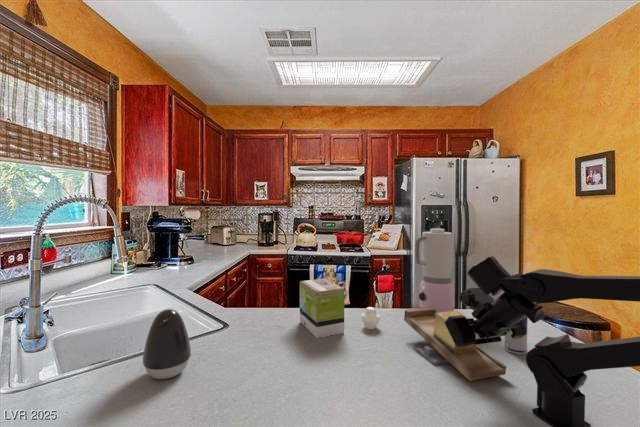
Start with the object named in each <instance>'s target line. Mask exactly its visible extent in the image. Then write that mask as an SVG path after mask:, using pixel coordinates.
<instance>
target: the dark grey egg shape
mask: <svg viewBox="0 0 640 427" xmlns="http://www.w3.org/2000/svg"><path fill="white" fill-rule="evenodd" d="M143 350H144V351H143V354H142V355H143V356H142V365H143V366H144V369H145V371H146V373H147V374H148V375H149V376H150V377H151V378H152V379H156V380H157V379H158V380H168V379H171V378H174V377H176V376H178V375H179V374H180V373H183V371H184V370H185V369H186V367H187V365H188V364H189V361H190V357H191V356H192V349H191V343H190V337H189V333H188V330H187V327H186V324H185V322H184V320H183V318H182V316H181V315H180V313H179V312H178V311H176V310H174V309H173V308H171V309H170V308H168V309H163V310H162V311H160V312H158V313H157V315H156V316H155V318H154V319H153V321H152V323H151V325H150V327H149V330H148V333H147V338H146V340H145V344H144V349H143Z"/></svg>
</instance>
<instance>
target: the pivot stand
mask: <svg viewBox="0 0 640 427" xmlns="http://www.w3.org/2000/svg"><path fill="white" fill-rule="evenodd" d="M415 350H416V351H415V352H417V353H418V354H420V355H421V356H422V357H424V358H425V359H426V360H427V361H428V362H430V363H431V364H432V365H433V366H437V365H444V364H449V363H450V362H449V361H448V360H447V359H446V358H444V357H443V356H442V355H441V354H440V353H439V352H438V351H437V350H436V349H435V348H434V347H433V346H431V345H426V346H422V347H416V349H415ZM450 364H451V363H450Z"/></svg>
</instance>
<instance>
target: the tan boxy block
mask: <svg viewBox="0 0 640 427" xmlns="http://www.w3.org/2000/svg"><path fill="white" fill-rule="evenodd" d="M458 315H462V316H464V317H466V319H470V317H468V316H467V315H465V314H463V313H462V312H461V311H459V310H454V311H448V312H439V313H436V315H435V324H434V334H433V337H434V338H435V339H436V340H437V341H439V342H440V343H441V344H442V345H443V346H444V347H446V348H447V349H448V350H449V351H450V352H452V353H453V354H459V353H465V352H471V351H477V345H476V344H472V345H469V346H462V347H458V346H456V345H455V343H454V341H453V339H452V337H451V335H450V333H449V331H448V329H447V327H446V325H445V320H446V319H447V318H448V317H449V316H458Z"/></svg>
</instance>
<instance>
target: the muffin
mask: <svg viewBox="0 0 640 427" xmlns="http://www.w3.org/2000/svg"><path fill="white" fill-rule="evenodd" d="M360 318H361V319H362V320H361V321H362V323H363V325H364V327H365V329H367V330H375V329H376V328H377V326H378V324H379V322H380V320H381V316H380V315H379V313H378V312H377V310H376V308H375V307H372V306H368V307H366V308H365V309H364V312H362V314H361V317H360Z"/></svg>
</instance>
